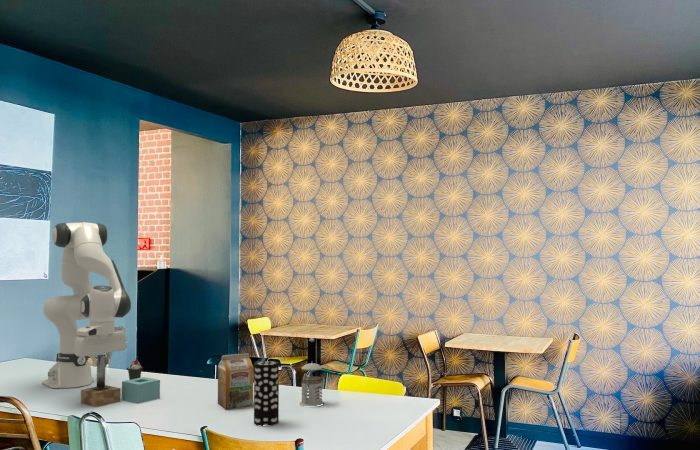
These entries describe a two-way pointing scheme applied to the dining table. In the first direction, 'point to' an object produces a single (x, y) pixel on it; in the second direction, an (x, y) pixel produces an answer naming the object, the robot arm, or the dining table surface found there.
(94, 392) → the socket
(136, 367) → the sundae
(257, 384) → the spotted tube
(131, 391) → the teal storage box
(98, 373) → the peg
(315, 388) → the french press
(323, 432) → the dining table surface
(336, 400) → the dining table surface
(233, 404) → the milk carton
